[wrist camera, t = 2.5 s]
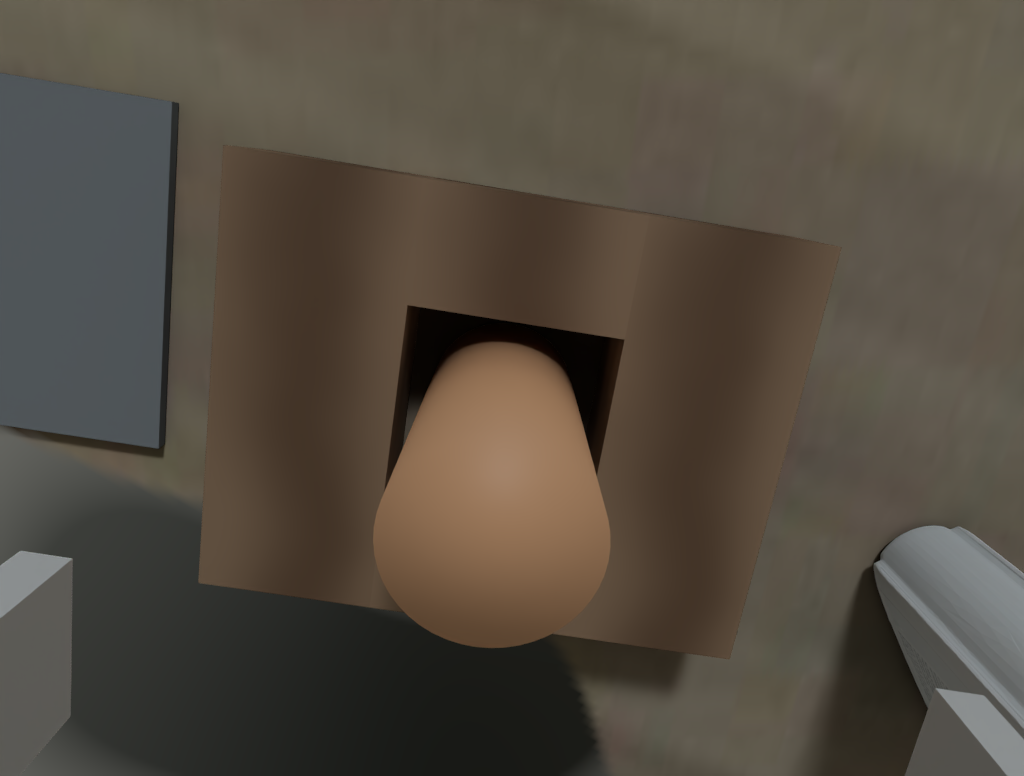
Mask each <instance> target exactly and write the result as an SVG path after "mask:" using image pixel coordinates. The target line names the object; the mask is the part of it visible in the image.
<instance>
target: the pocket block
mask: <svg viewBox="0 0 1024 776" xmlns="http://www.w3.org/2000/svg"><path fill="white" fill-rule="evenodd" d="M841 248H842V247H838V246H833V245H828V244H824V243H819V242H814V241H810V240H805V239H800V238H796V237H790V236H784V235H778V234H772V233H766V232H760V231H754V230H748V229H742V228H736V227H730V226H724V225H718V224H712V223H706V222H700V221H694V220H688V219H682V218H676V217H670V216H664V215H658V214H652V213H646V212H640V211H633V210H627V209H621V208H615V207H609V206H603V205H597V204H591V203H585V202H579V201H573V200H567V199H561V198H555V197H549V196H543V195H537V194H531V193H525V192H519V191H513V190H507V189H501V188H495V187H489V186H483V185H477V184H471V183H465V182H458V181H452V180H446V179H440V178H434V177H428V176H422V175H416V174H410V173H404V172H398V171H392V170H386V169H380V168H374V167H368V166H362V165H356V164H350V163H344V162H338V161H332V160H326V159H320V158H314V157H308V156H302V155H296V154H290V153H283V152H277V151H271V150H264V149H255V148H246V147H237V146H228V145H223V160H222V178H221V195H220V213H219V231H218V248H217V266H216V283H215V301H214V319H213V336H212V354H211V372H210V389H209V407H208V424H207V442H206V460H205V477H204V495H203V513H202V531H201V548H200V566H199V583H204V584H211V585H217V586H225V587H231V588H238V589H246V590H252V591H259V592H265V593H272V594H280V595H286V596H293V597H300V598H307V599H314V600H321V601H328V602H335V603H342V604H349V605H356V606H363V607H370V608H377V609H384V610H391V611H397V612H404V611H403V610H402V609H401V608H400V607H399V606H398V605H397V603H396V602H395V601H394V599H393V598H392V597H391V595H390V594H389V592H388V590H387V589H386V587H385V585H384V583H383V581H382V579H381V576H380V574H379V571H378V568H377V564H376V560H375V556H374V546H373V532H374V523H375V518H376V513H377V510H378V507H379V504H380V502H381V499H382V496H383V494H384V492H385V489H386V487H387V484H388V482H389V480H390V477H391V475H392V473H393V470H394V468H395V465H396V463H397V461H398V458H399V456H400V453H401V451H402V446H403V439H404V431H405V423H406V415H407V408H408V400H409V392H410V385H411V377H412V369H413V361H414V354H415V346H416V338H417V330H418V323H419V315H420V307H423V308H429V309H435V310H441V311H448V312H454V313H460V314H467V315H473V316H479V317H485V318H492V319H498V320H504V321H511V322H517V323H523V324H529V325H536V326H542V327H548V328H555V329H561V330H567V331H573V332H580V333H586V334H592V335H598V336H605V340H604V345H603V350H602V355H601V360H600V365H599V370H598V375H597V380H596V386H595V391H594V396H593V401H592V406H591V411H590V416H589V421H588V426H587V431H586V438H587V442H588V446H589V450H590V453H591V457H592V461H593V464H594V468H595V472H596V475H597V479H598V483H599V487H600V490H601V494H602V498H603V501H604V505H605V509H606V512H607V516H608V520H609V527H610V546H611V548H610V555H609V562H608V565H607V569H606V572H605V575H604V578H603V580H602V582H601V584H600V587H599V589H598V590H597V592H596V593H595V595H594V597H593V598H592V600H591V601H590V602H589V603H588V605H587V606H586V607H585V608H584V609H583V611H582V612H581V613H580V614H578V615H577V616H576V617H575V618H574V619H573V620H572V621H571V622H569V623H568V624H567V625H565V626H564V627H562V628H561V629H559V630H558V631H556V632H554V633H552V634H557V635H564V636H571V637H578V638H585V639H592V640H599V641H606V642H612V643H619V644H626V645H633V646H640V647H647V648H654V649H661V650H668V651H675V652H682V653H689V654H696V655H703V656H710V657H717V658H723V659H730V656H731V652H732V649H733V645H734V641H735V638H736V634H737V630H738V627H739V623H740V619H741V616H742V612H743V608H744V605H745V601H746V597H747V594H748V590H749V586H750V583H751V579H752V575H753V572H754V568H755V564H756V561H757V557H758V553H759V549H760V546H761V542H762V538H763V535H764V531H765V527H766V524H767V520H768V516H769V513H770V509H771V505H772V502H773V498H774V494H775V491H776V487H777V483H778V480H779V476H780V472H781V469H782V465H783V461H784V458H785V454H786V450H787V447H788V443H789V439H790V436H791V432H792V428H793V425H794V421H795V417H796V413H797V410H798V406H799V402H800V399H801V395H802V391H803V388H804V384H805V380H806V377H807V373H808V369H809V366H810V362H811V358H812V355H813V351H814V347H815V344H816V340H817V336H818V333H819V329H820V325H821V322H822V318H823V314H824V311H825V307H826V303H827V300H828V296H829V292H830V289H831V285H832V281H833V277H834V274H835V270H836V266H837V263H838V259H839V255H840V252H841ZM404 613H405V612H404Z"/></svg>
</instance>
